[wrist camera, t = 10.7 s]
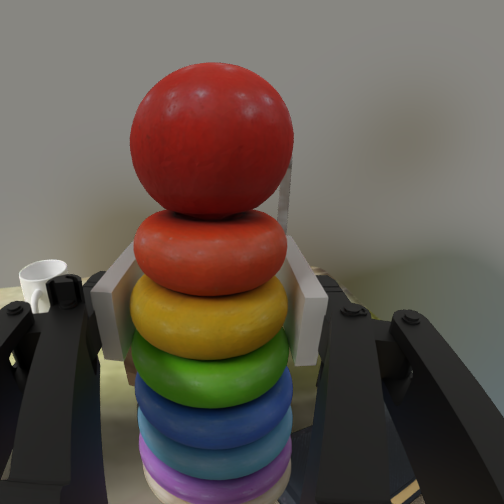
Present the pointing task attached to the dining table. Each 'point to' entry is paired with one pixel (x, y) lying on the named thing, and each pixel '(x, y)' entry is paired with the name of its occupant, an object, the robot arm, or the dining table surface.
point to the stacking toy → (212, 289)
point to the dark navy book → (399, 467)
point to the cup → (40, 282)
